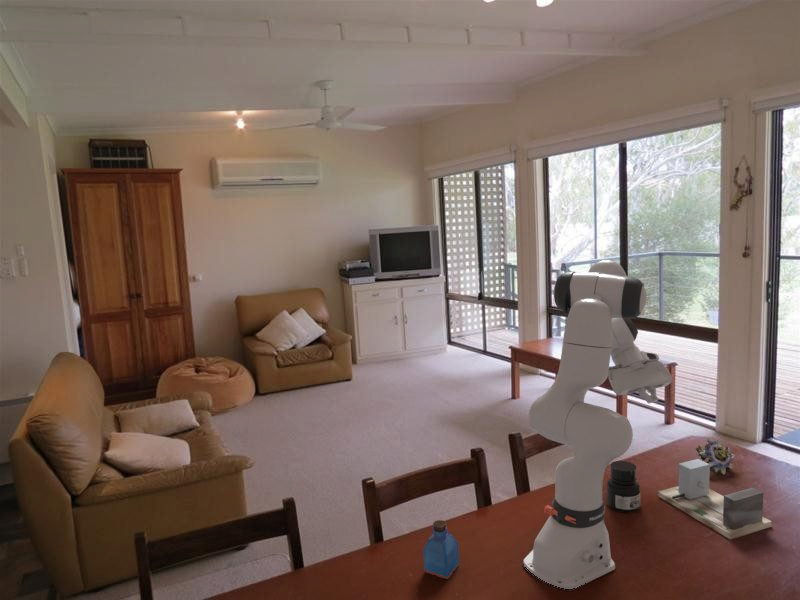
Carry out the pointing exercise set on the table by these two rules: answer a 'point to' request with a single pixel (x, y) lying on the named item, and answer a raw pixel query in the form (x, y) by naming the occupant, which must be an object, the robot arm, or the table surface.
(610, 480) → the ink bottle
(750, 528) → the bench
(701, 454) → the passion flower
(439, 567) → the perfume bottle
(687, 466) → the gauge slider
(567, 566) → the robot arm
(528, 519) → the table surface
